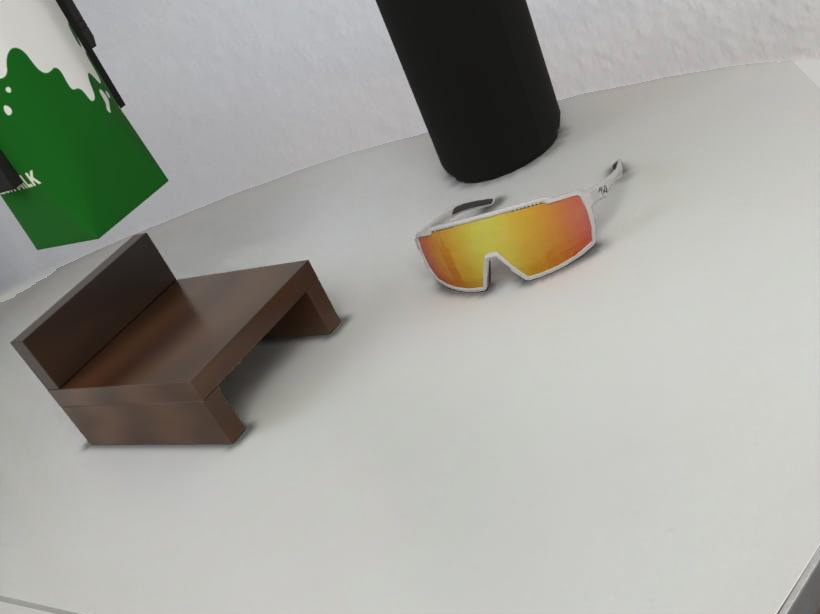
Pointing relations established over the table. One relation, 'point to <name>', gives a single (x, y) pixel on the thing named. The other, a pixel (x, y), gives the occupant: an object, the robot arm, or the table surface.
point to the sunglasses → (512, 236)
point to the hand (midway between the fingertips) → (59, 148)
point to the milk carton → (64, 132)
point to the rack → (164, 343)
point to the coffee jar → (476, 82)
